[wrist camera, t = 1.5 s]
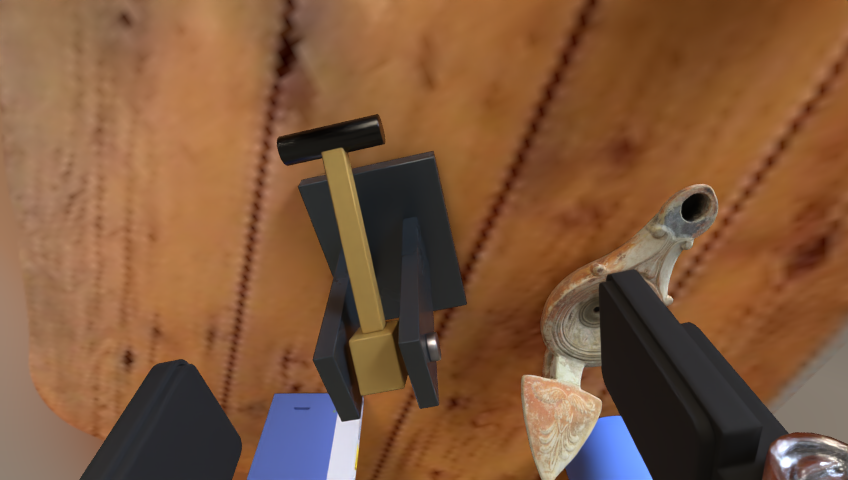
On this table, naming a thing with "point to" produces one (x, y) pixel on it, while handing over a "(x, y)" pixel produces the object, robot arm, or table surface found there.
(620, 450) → the water bottle
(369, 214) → the switch base
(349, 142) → the switch lever
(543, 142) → the table surface
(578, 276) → the oil lamp
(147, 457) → the robot arm
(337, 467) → the walkman
